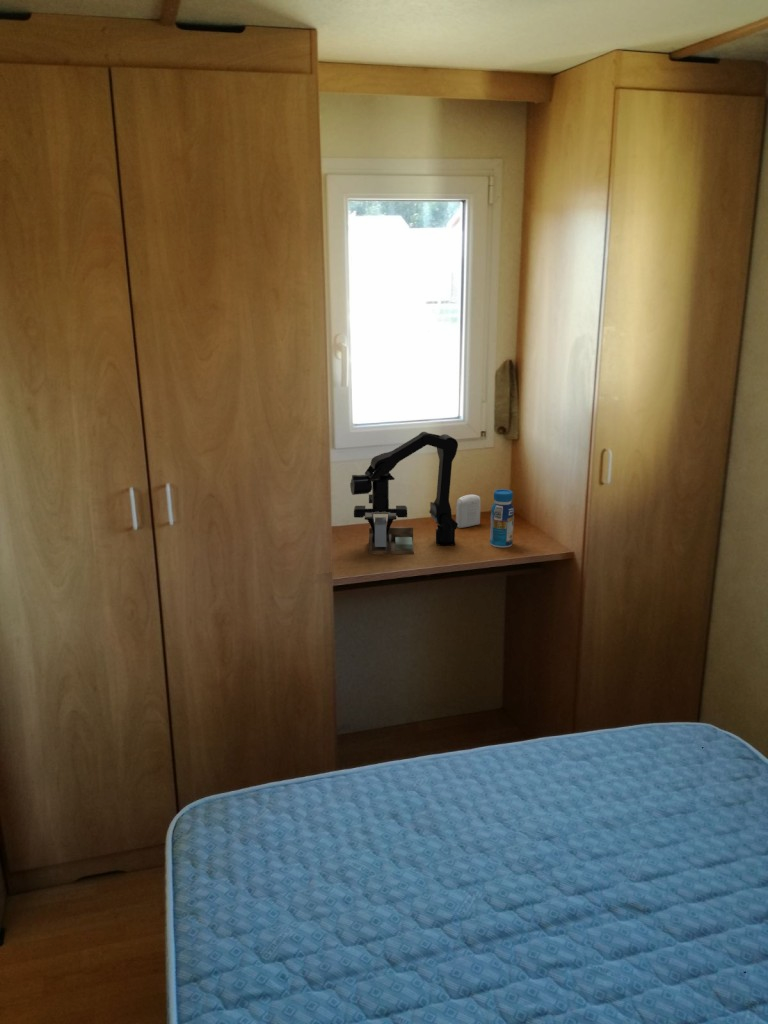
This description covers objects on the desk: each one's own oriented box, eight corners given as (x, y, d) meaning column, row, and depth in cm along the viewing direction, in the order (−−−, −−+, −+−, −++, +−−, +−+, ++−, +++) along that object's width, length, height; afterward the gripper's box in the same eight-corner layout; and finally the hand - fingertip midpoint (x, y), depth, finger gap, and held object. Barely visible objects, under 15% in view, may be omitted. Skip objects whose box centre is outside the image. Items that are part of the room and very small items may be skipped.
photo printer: (474, 521, 311) (475, 491, 307) (481, 524, 308) (482, 494, 304) (454, 526, 306) (454, 495, 302) (460, 529, 302) (461, 498, 299)
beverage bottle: (485, 541, 288) (487, 489, 282) (506, 539, 291) (508, 487, 285) (495, 549, 280) (497, 495, 275) (516, 546, 283) (519, 493, 277)
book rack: (413, 542, 288) (413, 526, 286) (413, 553, 276) (414, 537, 274) (369, 542, 288) (369, 526, 286) (368, 553, 276) (368, 537, 275)
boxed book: (386, 538, 285) (386, 517, 282) (386, 546, 276) (386, 525, 274) (375, 538, 285) (375, 517, 282) (374, 546, 276) (374, 525, 274)
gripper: (406, 486, 282) (406, 527, 287) (354, 486, 283) (355, 527, 287) (407, 494, 272) (407, 537, 276) (353, 494, 272) (354, 537, 277)
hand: (380, 534), depth 279 cm, fingers closed on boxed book, 4 cm apart
